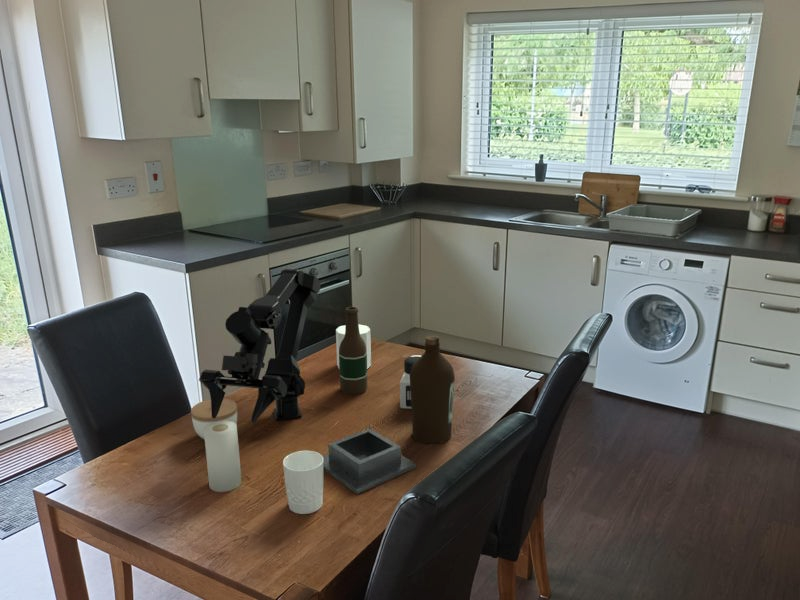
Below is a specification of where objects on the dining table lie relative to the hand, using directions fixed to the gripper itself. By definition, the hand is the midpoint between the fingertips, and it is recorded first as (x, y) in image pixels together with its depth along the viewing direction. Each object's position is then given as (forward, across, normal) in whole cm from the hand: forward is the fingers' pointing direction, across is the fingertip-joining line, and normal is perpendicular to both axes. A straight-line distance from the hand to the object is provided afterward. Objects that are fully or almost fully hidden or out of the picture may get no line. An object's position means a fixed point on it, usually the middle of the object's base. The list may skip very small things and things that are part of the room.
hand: (232, 420), depth 142 cm
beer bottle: (-25, +13, +42) cm, 50 cm away
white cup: (+15, +20, +2) cm, 25 cm away
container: (-21, +32, +38) cm, 54 cm away
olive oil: (-9, +39, +26) cm, 48 cm away
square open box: (+3, +27, +14) cm, 31 cm away
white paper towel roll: (+12, 0, +5) cm, 13 cm away
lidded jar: (-1, -12, +18) cm, 22 cm away
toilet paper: (-36, +8, +53) cm, 65 cm away
